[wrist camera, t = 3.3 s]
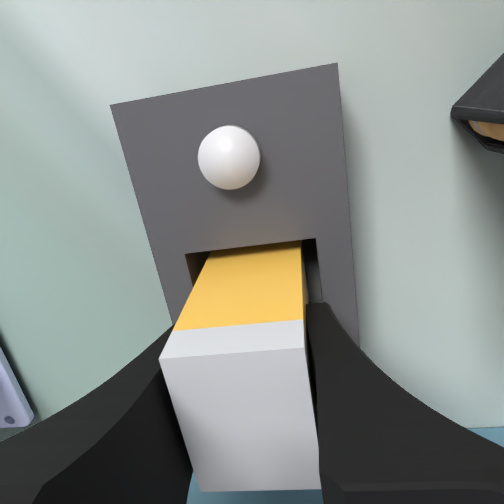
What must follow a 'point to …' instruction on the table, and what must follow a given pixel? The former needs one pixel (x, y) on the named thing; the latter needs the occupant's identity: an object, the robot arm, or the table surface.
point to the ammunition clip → (484, 108)
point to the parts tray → (305, 500)
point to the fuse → (246, 372)
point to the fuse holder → (243, 177)
